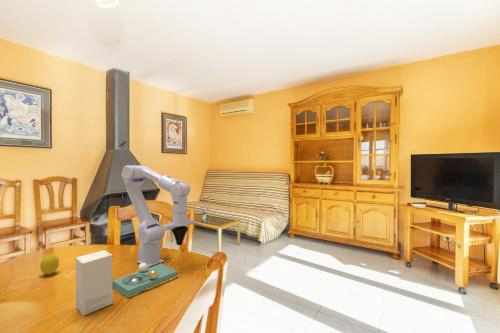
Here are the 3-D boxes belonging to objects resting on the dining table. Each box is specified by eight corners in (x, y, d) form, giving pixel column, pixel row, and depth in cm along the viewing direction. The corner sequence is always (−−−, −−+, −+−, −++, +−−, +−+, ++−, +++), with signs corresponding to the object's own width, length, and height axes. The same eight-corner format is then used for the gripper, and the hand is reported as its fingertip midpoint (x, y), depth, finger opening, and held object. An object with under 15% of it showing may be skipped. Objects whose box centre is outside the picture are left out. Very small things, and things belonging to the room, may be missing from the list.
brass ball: (144, 276, 87) (149, 267, 89) (151, 279, 89) (156, 270, 91) (149, 278, 85) (155, 269, 87) (156, 281, 87) (161, 272, 89)
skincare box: (105, 297, 80) (105, 249, 80) (113, 304, 76) (114, 254, 76) (74, 308, 74) (74, 256, 74) (82, 317, 70) (82, 262, 69)
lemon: (48, 278, 92) (48, 257, 92) (36, 277, 93) (36, 255, 93) (62, 272, 97) (62, 252, 97) (50, 270, 98) (50, 250, 98)
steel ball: (129, 287, 87) (126, 281, 86) (137, 280, 89) (134, 274, 88) (134, 291, 85) (131, 285, 84) (142, 284, 88) (139, 278, 86)
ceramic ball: (136, 271, 93) (136, 263, 93) (144, 268, 96) (144, 260, 96) (141, 274, 92) (141, 265, 91) (149, 271, 94) (149, 262, 94)
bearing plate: (160, 269, 101) (161, 263, 101) (177, 277, 95) (177, 271, 95) (112, 287, 86) (112, 280, 86) (128, 298, 80) (128, 290, 80)
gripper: (170, 216, 95) (170, 251, 95) (199, 210, 106) (199, 242, 106) (160, 213, 99) (159, 247, 99) (189, 208, 110) (188, 239, 110)
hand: (179, 244), depth 103 cm, fingers closed
